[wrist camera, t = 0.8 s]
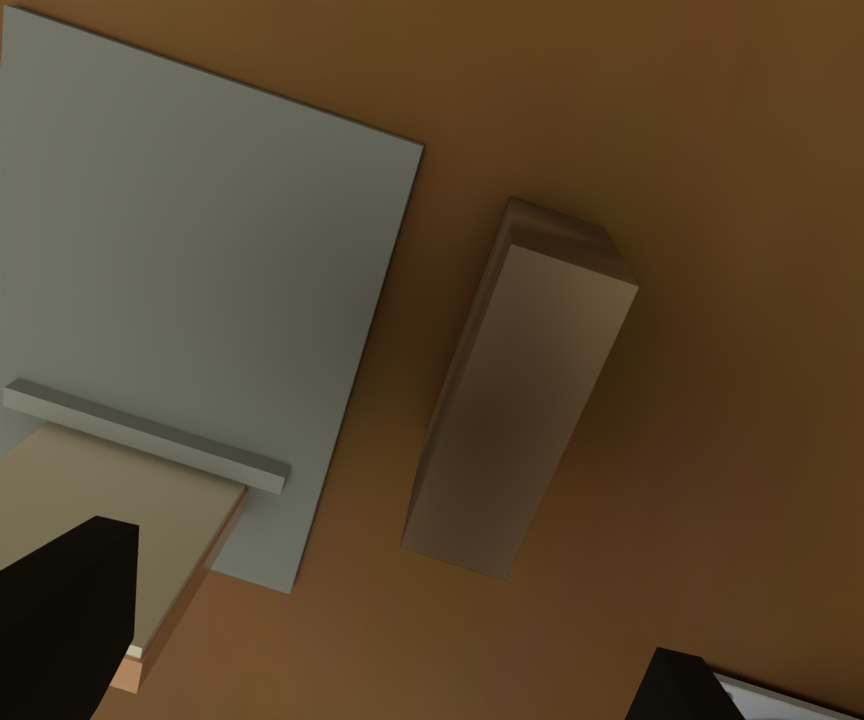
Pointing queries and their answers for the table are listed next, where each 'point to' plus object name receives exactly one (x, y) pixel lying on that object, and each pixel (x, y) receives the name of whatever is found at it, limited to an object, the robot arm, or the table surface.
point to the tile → (125, 501)
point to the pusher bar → (516, 386)
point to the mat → (188, 269)
